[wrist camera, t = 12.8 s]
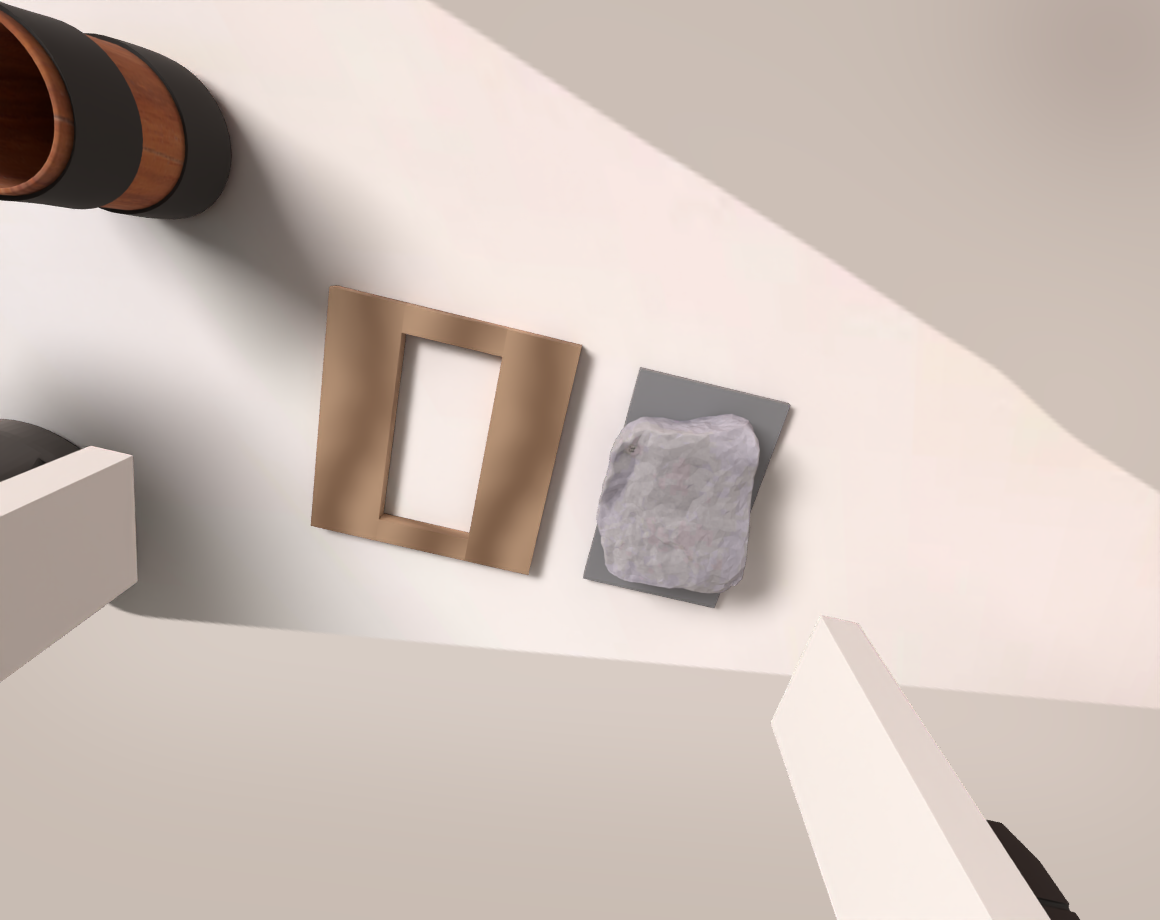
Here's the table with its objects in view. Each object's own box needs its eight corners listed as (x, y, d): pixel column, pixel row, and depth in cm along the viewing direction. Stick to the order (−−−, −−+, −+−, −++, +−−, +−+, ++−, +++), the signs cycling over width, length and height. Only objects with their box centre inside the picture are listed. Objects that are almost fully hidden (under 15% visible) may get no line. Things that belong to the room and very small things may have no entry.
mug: (39, 4, 33) (-244, -113, 22) (251, 91, 34) (81, 22, 23) (33, 165, 36) (-220, 134, 25) (228, 241, 37) (68, 242, 26)
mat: (583, 574, 44) (583, 578, 44) (640, 367, 38) (640, 369, 38) (712, 603, 44) (714, 608, 44) (787, 402, 39) (790, 405, 38)
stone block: (606, 555, 45) (742, 573, 42) (591, 588, 40) (743, 609, 38) (610, 401, 41) (760, 411, 39) (594, 418, 37) (763, 430, 34)
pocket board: (317, 519, 43) (310, 525, 43) (336, 285, 38) (329, 286, 37) (529, 567, 44) (528, 574, 43) (582, 345, 38) (581, 347, 37)
